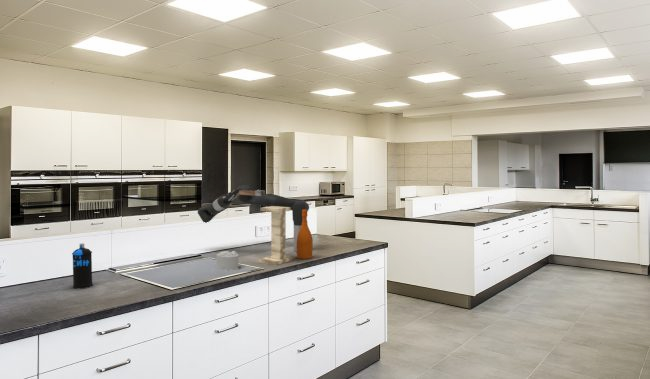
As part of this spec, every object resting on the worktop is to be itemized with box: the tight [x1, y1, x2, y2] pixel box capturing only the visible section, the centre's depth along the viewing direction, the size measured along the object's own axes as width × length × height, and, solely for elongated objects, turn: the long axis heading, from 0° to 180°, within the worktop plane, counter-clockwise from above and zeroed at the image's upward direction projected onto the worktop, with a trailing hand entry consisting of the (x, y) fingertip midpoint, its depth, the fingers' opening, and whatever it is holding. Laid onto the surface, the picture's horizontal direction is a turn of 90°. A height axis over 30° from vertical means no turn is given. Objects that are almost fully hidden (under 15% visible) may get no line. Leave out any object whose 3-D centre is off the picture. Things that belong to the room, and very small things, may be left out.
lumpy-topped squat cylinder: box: [215, 250, 240, 270], centre depth 248 cm, size 10×13×9 cm
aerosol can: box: [71, 242, 94, 289], centre depth 207 cm, size 8×8×20 cm
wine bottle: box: [296, 209, 314, 260], centre depth 273 cm, size 10×10×30 cm
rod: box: [232, 189, 266, 196], centre depth 272 cm, size 4×22×3 cm, turn 61°
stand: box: [258, 206, 293, 266], centre depth 263 cm, size 16×13×32 cm
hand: (239, 190), depth 275 cm, fingers closed on rod, 2 cm apart
